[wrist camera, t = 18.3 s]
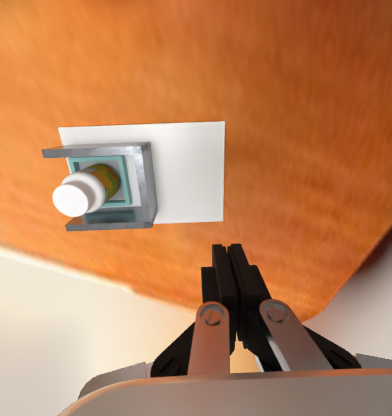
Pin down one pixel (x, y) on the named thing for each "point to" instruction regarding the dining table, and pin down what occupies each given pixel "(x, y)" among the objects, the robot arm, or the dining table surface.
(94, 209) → the supplement bottle
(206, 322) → the robot arm
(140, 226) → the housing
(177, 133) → the base plate
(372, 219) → the dining table surface
